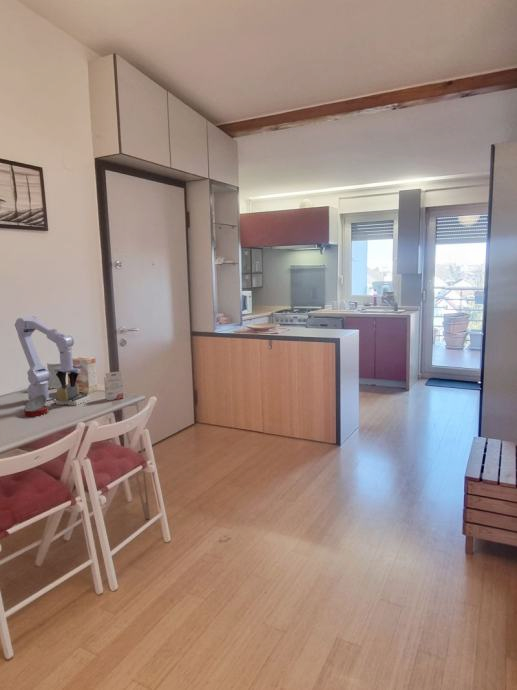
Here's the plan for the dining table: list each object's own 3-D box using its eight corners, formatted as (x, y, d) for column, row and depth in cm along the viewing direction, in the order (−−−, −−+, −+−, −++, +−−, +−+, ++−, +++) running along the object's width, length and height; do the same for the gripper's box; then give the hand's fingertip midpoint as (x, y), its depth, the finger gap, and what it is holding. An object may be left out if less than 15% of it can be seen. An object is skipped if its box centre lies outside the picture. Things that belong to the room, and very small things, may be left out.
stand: (53, 403, 231) (53, 398, 230) (68, 398, 241) (67, 392, 241) (76, 405, 227) (76, 399, 227) (90, 399, 237) (90, 394, 237)
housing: (71, 395, 236) (70, 383, 235) (79, 395, 235) (78, 383, 234) (58, 400, 227) (56, 388, 226) (66, 401, 226) (65, 388, 224)
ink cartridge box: (121, 396, 243) (120, 369, 241) (123, 398, 239) (122, 371, 237) (105, 398, 239) (103, 371, 237) (106, 400, 235) (105, 373, 233)
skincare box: (50, 389, 261) (48, 364, 259) (48, 387, 266) (46, 362, 264) (65, 387, 266) (63, 362, 263) (63, 385, 271) (61, 361, 268)
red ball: (48, 423, 214) (50, 407, 210) (24, 425, 209) (25, 408, 204) (45, 407, 222) (47, 391, 218) (22, 408, 217) (24, 392, 212)
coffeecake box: (68, 391, 256) (65, 357, 253) (77, 388, 262) (75, 355, 259) (88, 393, 250) (86, 359, 247) (98, 390, 257) (95, 357, 254)
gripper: (48, 360, 227) (50, 387, 229) (73, 362, 222) (74, 389, 224) (58, 358, 233) (60, 384, 235) (82, 359, 229) (84, 385, 231)
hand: (68, 386), depth 230 cm, fingers closed on housing, 5 cm apart
